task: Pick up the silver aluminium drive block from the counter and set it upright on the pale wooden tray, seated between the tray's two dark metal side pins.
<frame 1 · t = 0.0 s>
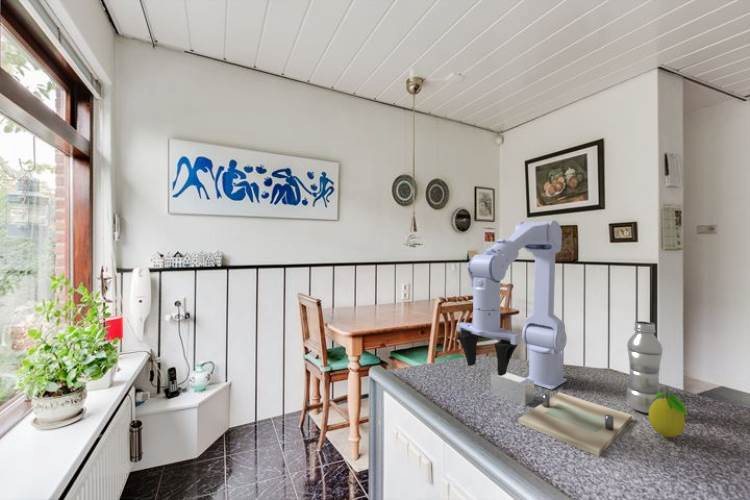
hand: (486, 369, 77), 10 cm above the counter, tool pointing down, fingers open, 7 cm apart
plastic bottle: (643, 411, 79), on the counter
lemon: (667, 438, 68), on the counter
drive: (511, 397, 86), on the counter
pin tray: (575, 421, 74), on the counter
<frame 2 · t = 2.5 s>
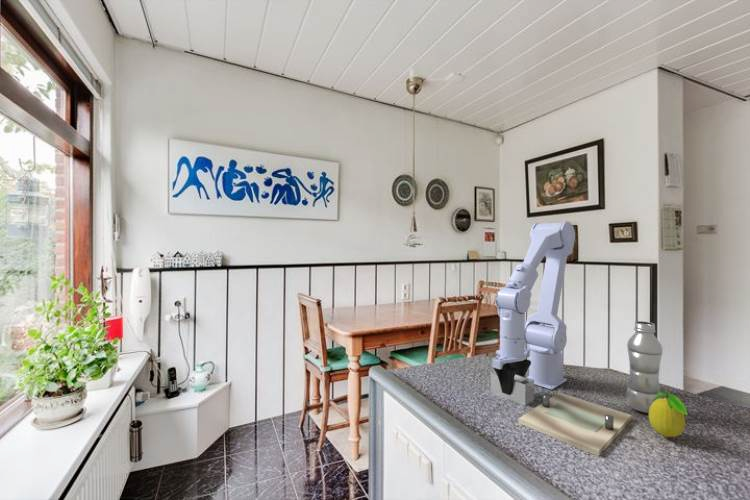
hand: (511, 390, 86), 1 cm above the counter, tool pointing down, fingers closed on drive, 4 cm apart
drive: (511, 396, 86), on the counter, touching gripper
everything else where it was.
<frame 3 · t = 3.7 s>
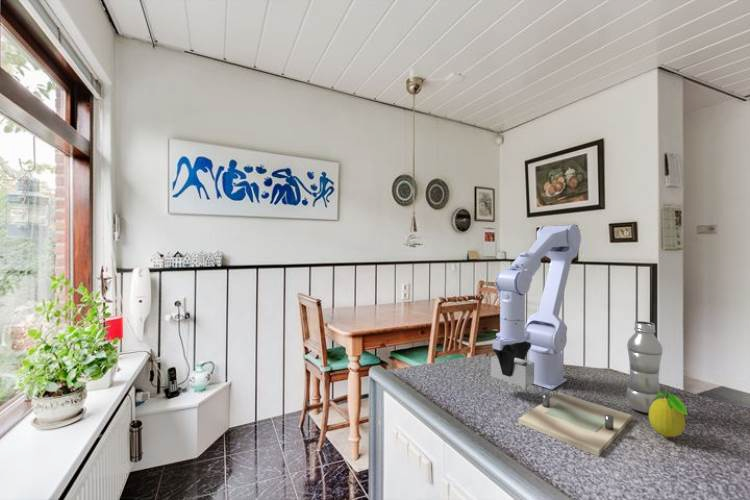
hand: (512, 372, 86), 6 cm above the counter, tool pointing down, fingers closed on drive, 4 cm apart
drive: (512, 379, 86), point 4 cm above the counter, touching gripper
everything else where it was.
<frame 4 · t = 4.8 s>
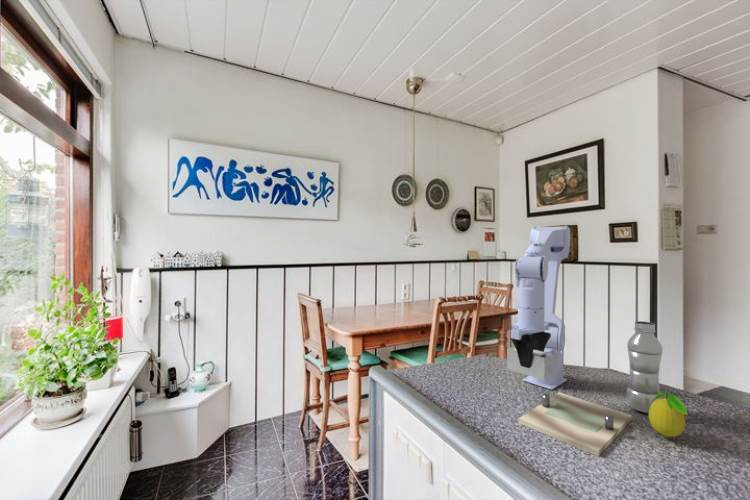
hand: (530, 364, 82), 9 cm above the counter, tool pointing down, fingers closed on drive, 4 cm apart
drive: (529, 372, 82), point 8 cm above the counter, touching gripper
everything else where it was.
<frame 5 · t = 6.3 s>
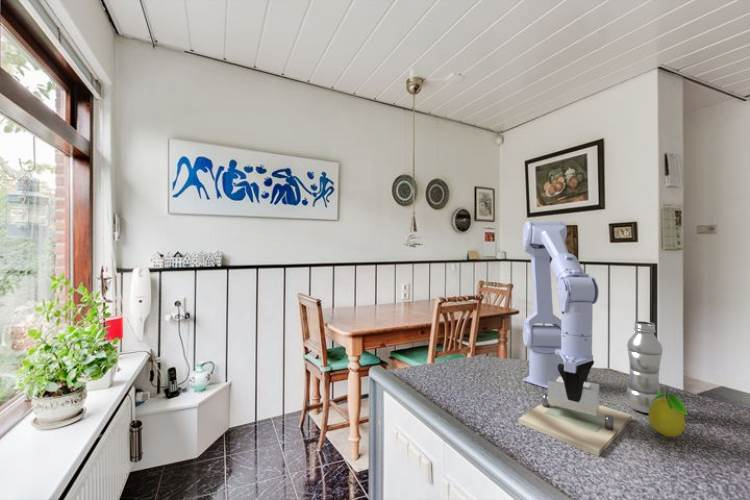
hand: (575, 396, 74), 5 cm above the counter, tool pointing down, fingers closed on drive, 4 cm apart
drive: (573, 405, 75), point 3 cm above the counter, touching gripper
everything else where it was.
when the fingers open (4 cm above the counter, at t = 7.5 s): drive stays where it is, resting on pin tray.
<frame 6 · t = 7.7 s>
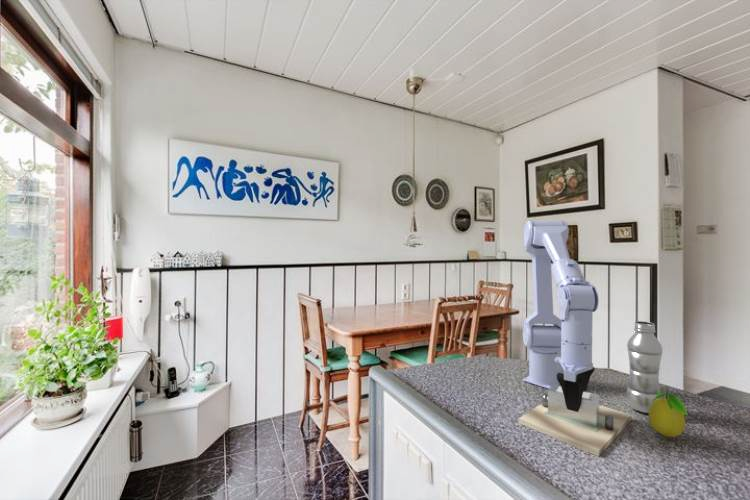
hand: (575, 404, 74), 4 cm above the counter, tool pointing down, fingers open, 6 cm apart
drive: (573, 415, 75), point 1 cm above the counter, touching pin tray
everything else where it was.
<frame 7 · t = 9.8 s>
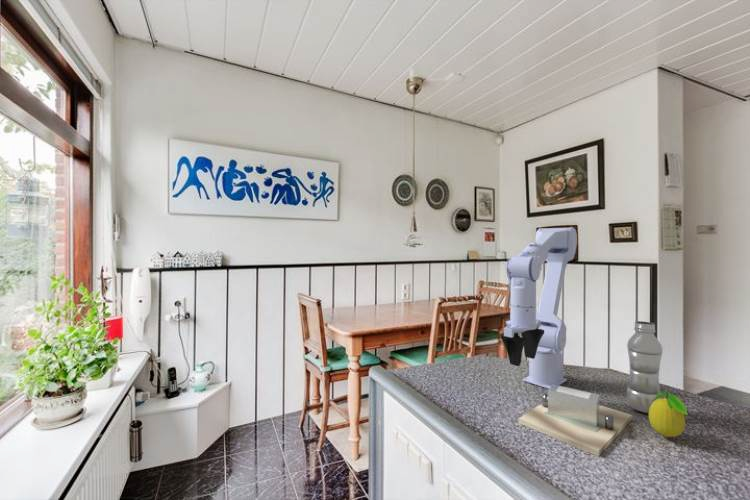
hand: (522, 361, 85), 9 cm above the counter, tool pointing down, fingers open, 7 cm apart
nothing on the counter moved.
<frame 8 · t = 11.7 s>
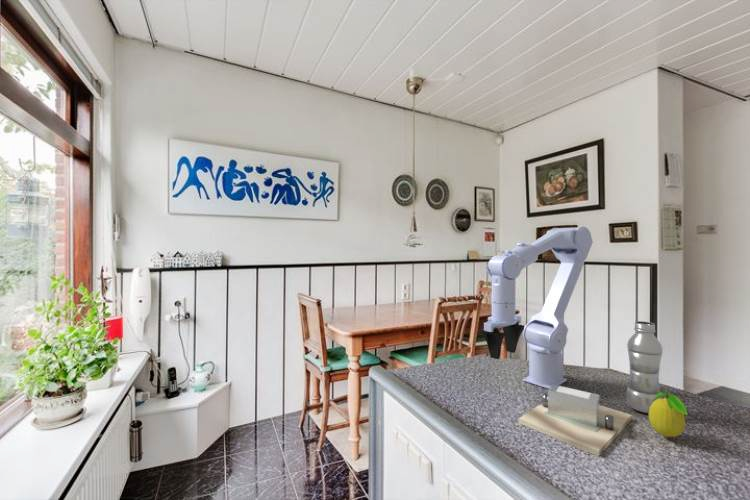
hand: (503, 354, 89), 9 cm above the counter, tool pointing down, fingers open, 7 cm apart
nothing on the counter moved.
at the end: drive 0.5 cm off-centre on the pin tray, point 1.1 cm above the pin tray's base; drive tilted 0°; the gripper is holding nothing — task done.
